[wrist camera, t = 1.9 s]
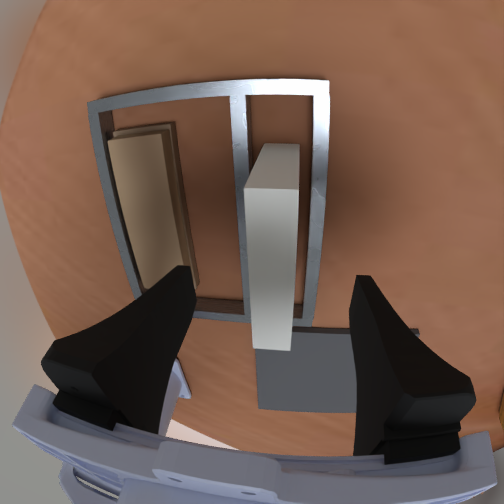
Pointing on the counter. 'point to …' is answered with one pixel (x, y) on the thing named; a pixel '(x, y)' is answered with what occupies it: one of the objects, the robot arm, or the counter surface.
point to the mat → (309, 373)
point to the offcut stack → (153, 199)
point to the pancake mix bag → (502, 412)
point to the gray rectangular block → (272, 243)
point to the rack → (242, 168)
